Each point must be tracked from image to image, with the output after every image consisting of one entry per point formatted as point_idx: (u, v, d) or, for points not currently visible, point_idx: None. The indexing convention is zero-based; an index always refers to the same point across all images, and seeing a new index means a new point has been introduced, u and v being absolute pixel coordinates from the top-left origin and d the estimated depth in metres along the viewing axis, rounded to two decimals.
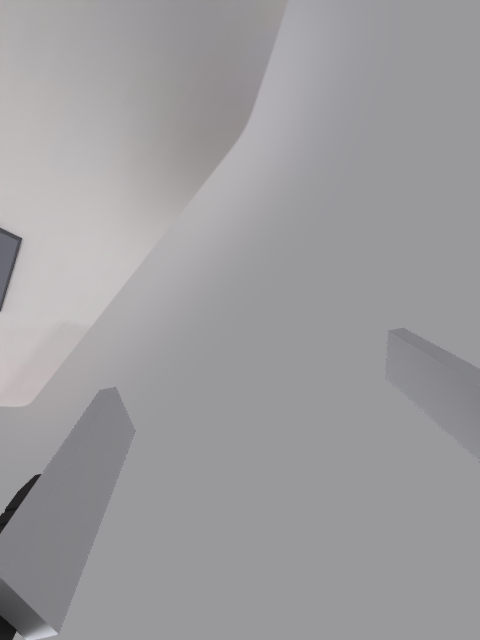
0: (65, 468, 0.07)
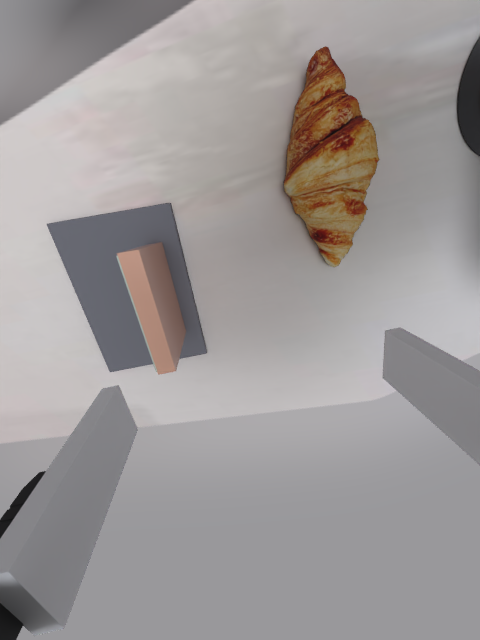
0: (70, 465, 0.08)
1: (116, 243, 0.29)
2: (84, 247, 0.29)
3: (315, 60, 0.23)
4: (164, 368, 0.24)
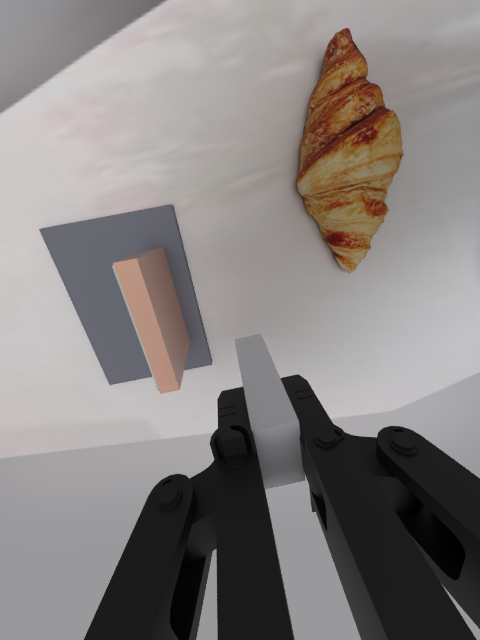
0: (258, 379, 0.10)
1: (114, 249, 0.27)
2: (80, 253, 0.27)
3: (334, 43, 0.21)
4: (166, 387, 0.22)
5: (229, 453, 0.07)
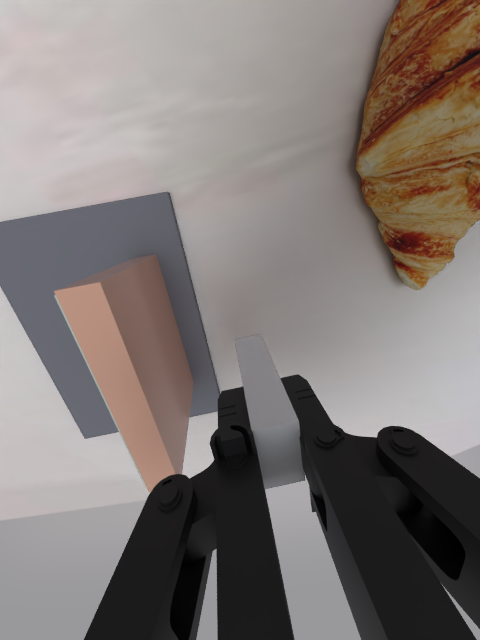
0: (258, 379, 0.10)
1: (84, 257, 0.18)
2: (33, 264, 0.18)
3: None
4: None
5: (229, 453, 0.07)
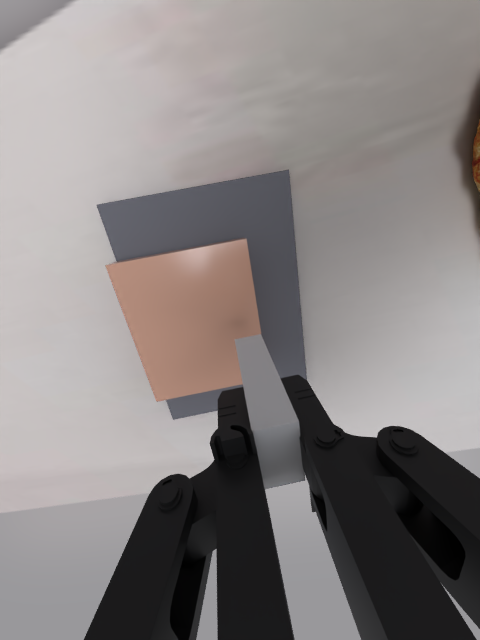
0: (258, 379, 0.10)
1: (200, 235, 0.19)
2: (152, 242, 0.19)
3: None
4: None
5: (229, 453, 0.07)
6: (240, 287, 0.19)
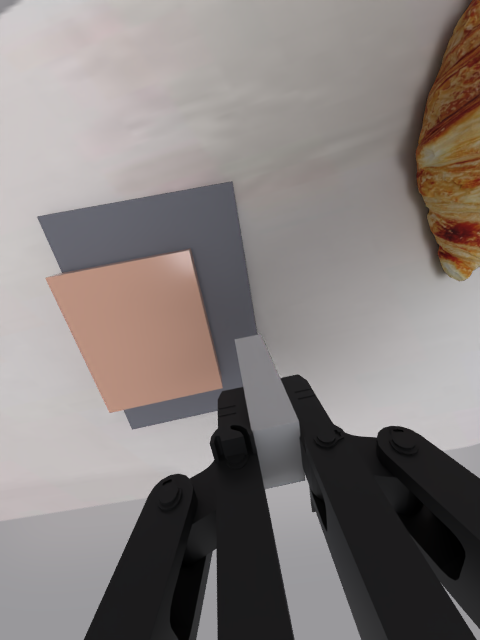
0: (258, 379, 0.10)
1: (147, 246, 0.19)
2: (97, 253, 0.19)
3: None
4: None
5: (229, 453, 0.07)
6: (186, 298, 0.18)
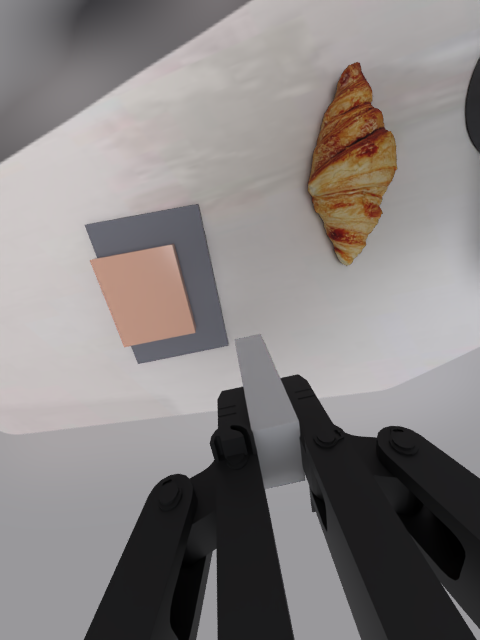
0: (258, 379, 0.10)
1: (148, 242, 0.31)
2: (118, 246, 0.31)
3: (347, 73, 0.26)
4: None
5: (229, 453, 0.07)
6: (171, 273, 0.31)
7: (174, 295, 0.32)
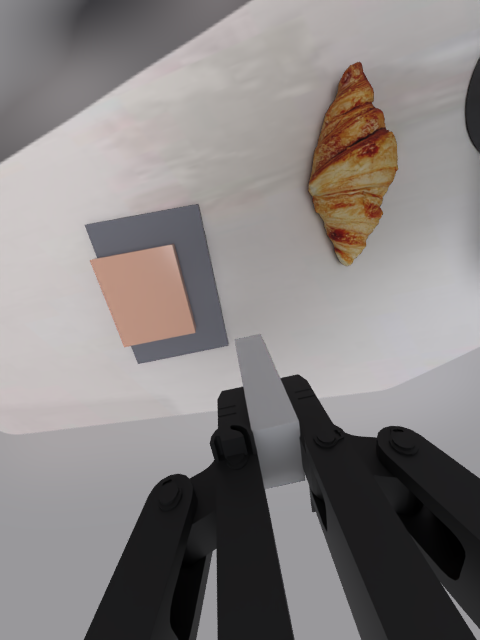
0: (258, 379, 0.10)
1: (148, 242, 0.31)
2: (118, 246, 0.31)
3: (348, 73, 0.25)
4: None
5: (229, 453, 0.07)
6: (171, 273, 0.31)
7: (174, 295, 0.32)
